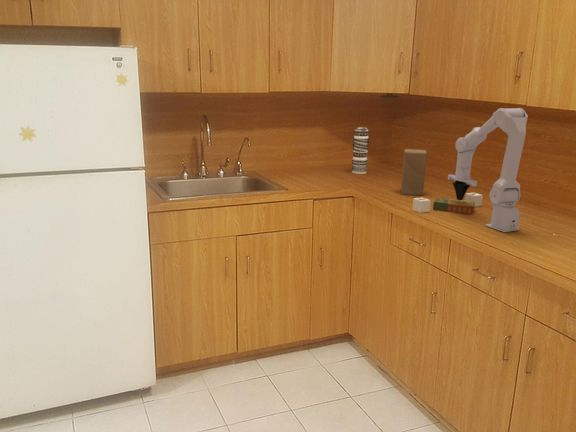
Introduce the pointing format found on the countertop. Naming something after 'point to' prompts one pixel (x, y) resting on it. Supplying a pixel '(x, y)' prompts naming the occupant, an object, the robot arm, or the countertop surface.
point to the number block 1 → (421, 205)
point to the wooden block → (413, 172)
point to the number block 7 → (474, 198)
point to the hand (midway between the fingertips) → (459, 199)
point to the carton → (454, 205)
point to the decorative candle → (360, 150)
